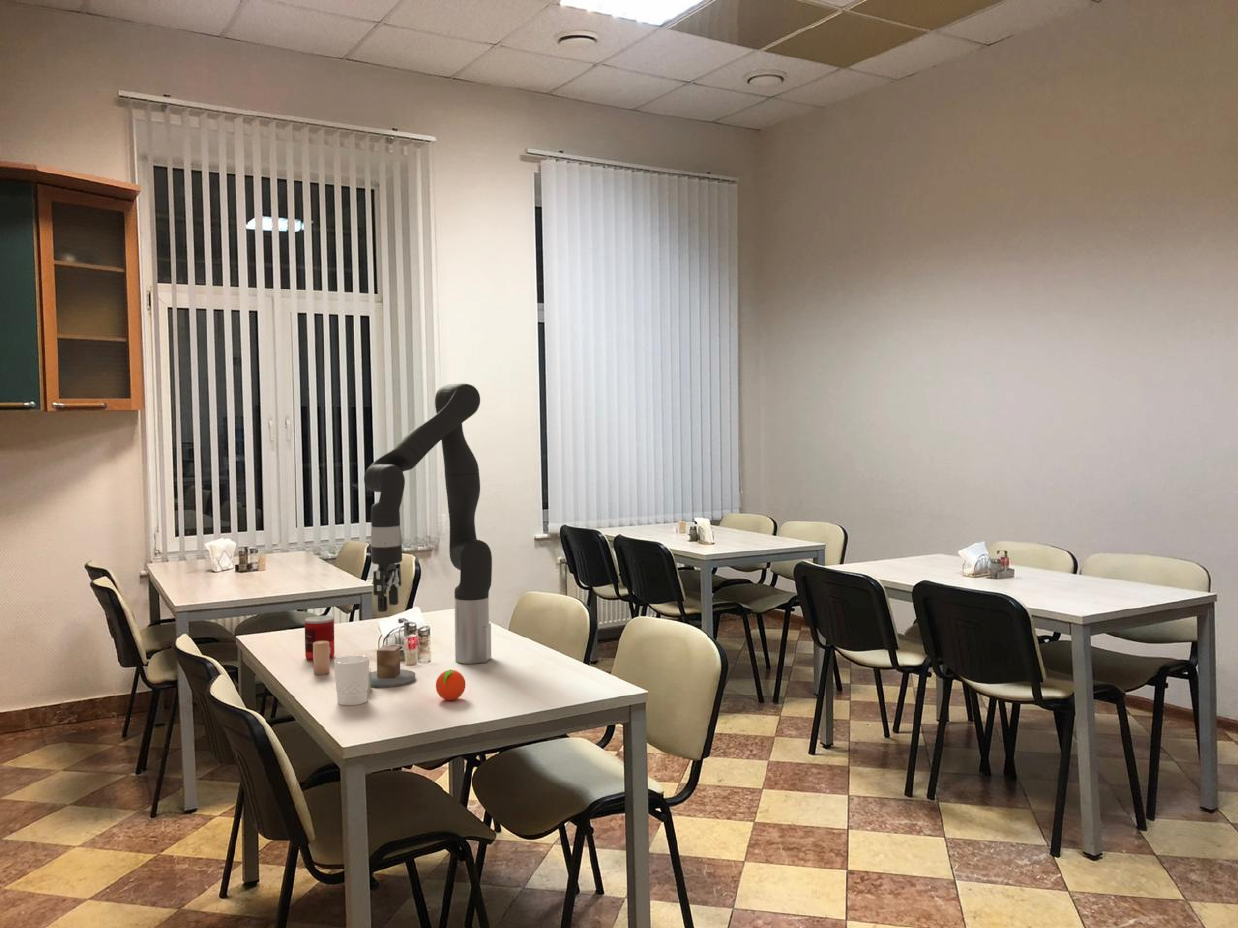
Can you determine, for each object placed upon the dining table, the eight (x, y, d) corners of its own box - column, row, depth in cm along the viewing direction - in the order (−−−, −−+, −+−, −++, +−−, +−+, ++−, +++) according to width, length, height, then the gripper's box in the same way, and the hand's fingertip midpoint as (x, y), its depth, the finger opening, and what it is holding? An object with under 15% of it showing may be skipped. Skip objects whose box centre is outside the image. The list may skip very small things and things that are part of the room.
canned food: (338, 654, 273) (338, 615, 272) (327, 661, 265) (326, 621, 264) (312, 653, 273) (311, 615, 273) (300, 660, 265) (299, 621, 265)
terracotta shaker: (332, 671, 254) (331, 640, 254) (326, 675, 250) (325, 644, 250) (317, 670, 255) (316, 640, 254) (311, 674, 251) (310, 644, 250)
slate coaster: (421, 674, 251) (421, 669, 251) (406, 687, 238) (406, 682, 238) (372, 673, 252) (372, 668, 252) (354, 686, 239) (354, 681, 239)
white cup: (337, 708, 221) (336, 664, 221) (332, 699, 228) (332, 657, 228) (372, 703, 224) (371, 661, 224) (367, 695, 232) (366, 653, 231)
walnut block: (400, 673, 247) (399, 646, 246) (394, 678, 242) (394, 650, 242) (383, 673, 247) (382, 646, 247) (377, 677, 243) (376, 650, 242)
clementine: (458, 705, 222) (458, 675, 222) (429, 704, 224) (429, 673, 223) (469, 696, 230) (469, 666, 230) (441, 694, 232) (441, 665, 231)
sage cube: (370, 688, 238) (370, 667, 238) (369, 693, 233) (368, 673, 233) (349, 689, 237) (349, 668, 237) (347, 694, 232) (347, 674, 232)
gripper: (391, 547, 236) (394, 613, 237) (409, 539, 250) (411, 602, 251) (361, 547, 236) (364, 613, 237) (381, 540, 250) (383, 602, 251)
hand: (388, 607), depth 244 cm, fingers open, 8 cm apart
